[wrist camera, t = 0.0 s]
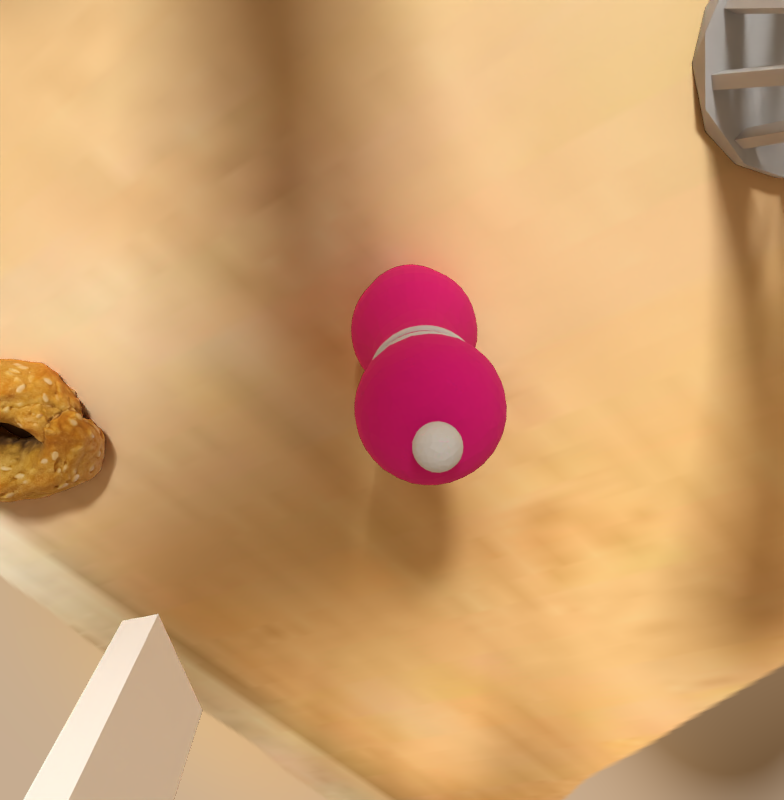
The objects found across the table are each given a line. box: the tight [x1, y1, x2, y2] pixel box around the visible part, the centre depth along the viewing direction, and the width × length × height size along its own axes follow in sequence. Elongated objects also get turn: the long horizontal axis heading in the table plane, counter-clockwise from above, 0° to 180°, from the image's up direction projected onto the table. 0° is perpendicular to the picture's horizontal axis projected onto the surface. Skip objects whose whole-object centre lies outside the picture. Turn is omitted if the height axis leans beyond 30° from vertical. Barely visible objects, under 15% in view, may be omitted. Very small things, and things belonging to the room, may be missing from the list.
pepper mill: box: [351, 265, 507, 485], centre depth 29 cm, size 7×7×20 cm
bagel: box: [0, 359, 105, 502], centre depth 39 cm, size 10×11×5 cm
